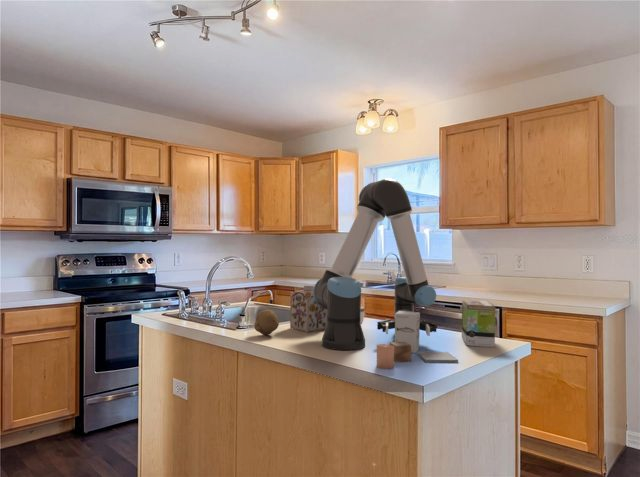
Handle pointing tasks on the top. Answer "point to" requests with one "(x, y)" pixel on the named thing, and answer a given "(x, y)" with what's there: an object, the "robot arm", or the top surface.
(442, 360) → the slate tile
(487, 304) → the tea box
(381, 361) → the peach rounded cylinder
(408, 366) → the top surface
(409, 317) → the supplement box
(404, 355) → the walnut block
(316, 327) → the decorative jar
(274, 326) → the natural sponge
